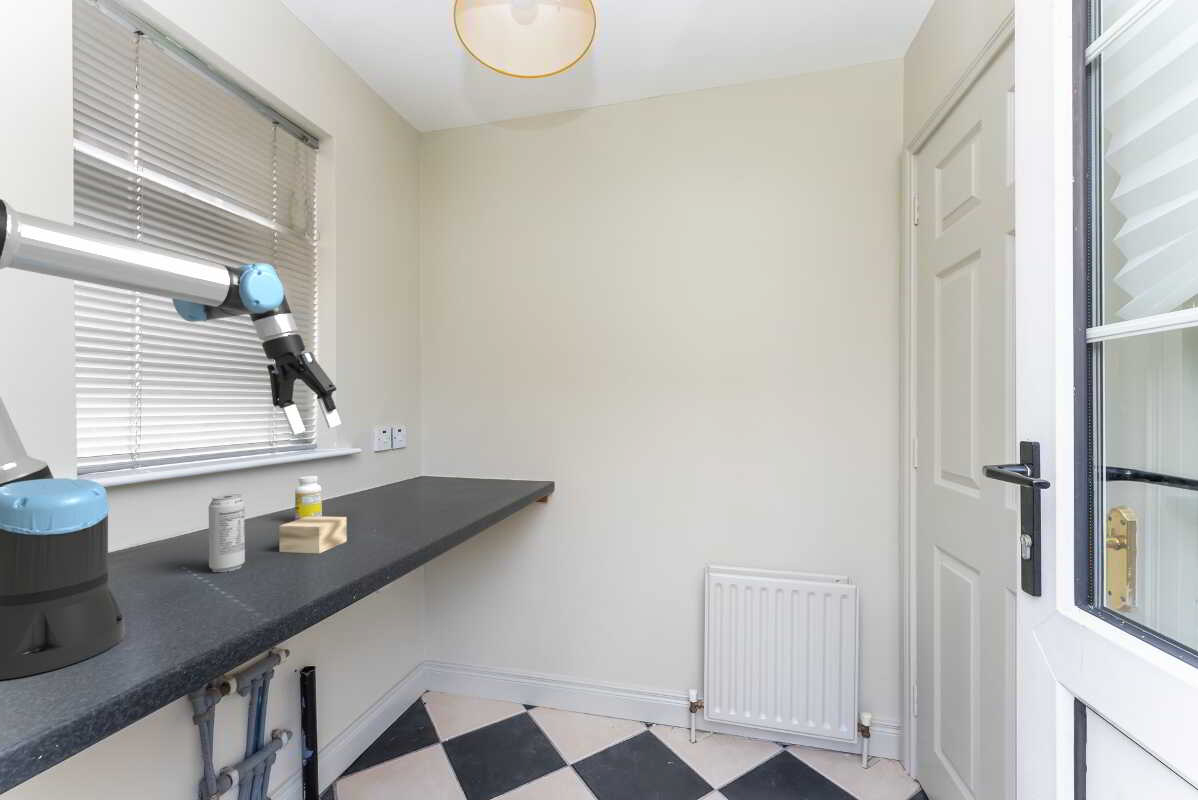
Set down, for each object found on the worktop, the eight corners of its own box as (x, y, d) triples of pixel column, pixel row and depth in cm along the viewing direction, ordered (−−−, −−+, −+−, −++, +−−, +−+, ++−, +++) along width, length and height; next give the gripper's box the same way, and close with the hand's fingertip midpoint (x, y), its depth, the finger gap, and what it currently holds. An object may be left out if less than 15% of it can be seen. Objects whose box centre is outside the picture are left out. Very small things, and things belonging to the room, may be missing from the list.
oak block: (319, 553, 118) (319, 527, 118) (279, 551, 119) (279, 525, 119) (346, 541, 128) (346, 517, 128) (309, 540, 129) (309, 516, 129)
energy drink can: (237, 562, 112) (236, 492, 112) (250, 567, 108) (249, 495, 108) (204, 570, 107) (203, 497, 107) (216, 575, 103) (215, 500, 103)
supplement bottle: (296, 520, 150) (296, 476, 150) (322, 518, 153) (322, 474, 153) (294, 525, 144) (293, 479, 144) (321, 522, 147) (320, 477, 147)
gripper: (330, 321, 109) (365, 416, 113) (266, 345, 121) (300, 430, 125) (296, 328, 103) (335, 428, 107) (233, 352, 115) (270, 441, 119)
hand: (316, 429), depth 116 cm, fingers open, 13 cm apart
